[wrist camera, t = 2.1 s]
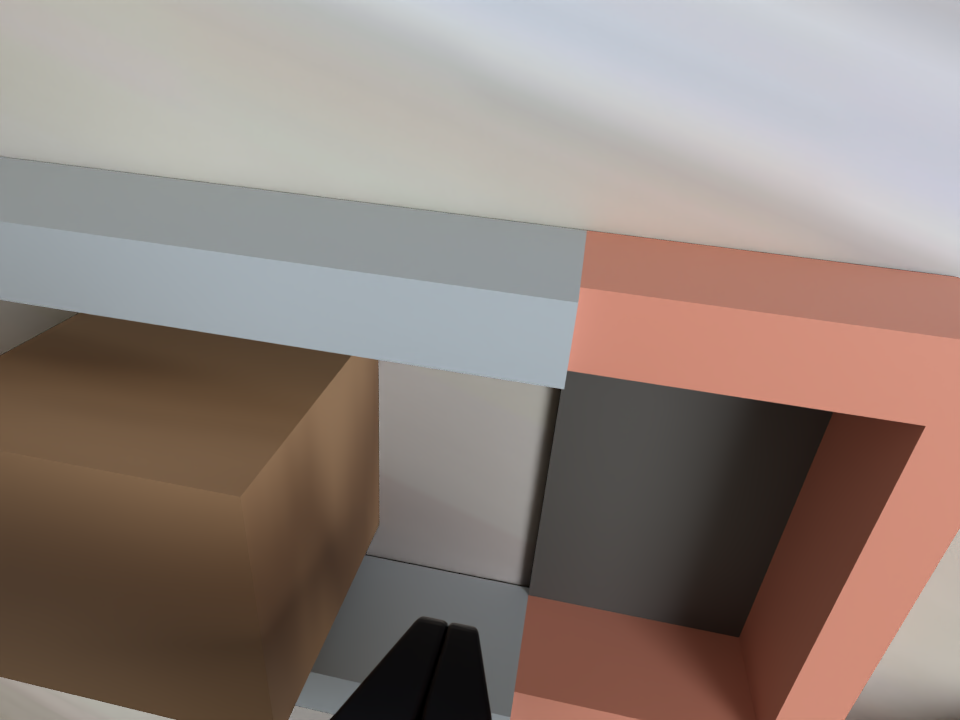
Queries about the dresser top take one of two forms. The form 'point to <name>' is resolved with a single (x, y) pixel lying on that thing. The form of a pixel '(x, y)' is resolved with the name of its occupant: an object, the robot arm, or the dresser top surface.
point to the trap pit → (739, 484)
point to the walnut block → (179, 514)
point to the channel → (314, 330)
